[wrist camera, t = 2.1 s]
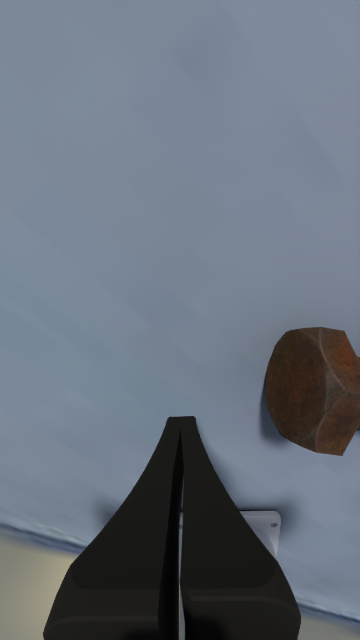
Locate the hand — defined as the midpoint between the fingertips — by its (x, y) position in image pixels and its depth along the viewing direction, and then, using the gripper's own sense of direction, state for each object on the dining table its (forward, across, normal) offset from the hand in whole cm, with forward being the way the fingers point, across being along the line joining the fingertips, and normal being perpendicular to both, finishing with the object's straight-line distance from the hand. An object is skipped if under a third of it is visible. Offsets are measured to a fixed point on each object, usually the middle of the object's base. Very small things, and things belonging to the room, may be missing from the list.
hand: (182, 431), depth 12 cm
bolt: (+3, -12, -1) cm, 13 cm away
